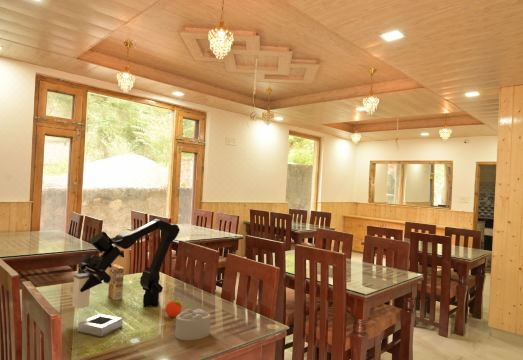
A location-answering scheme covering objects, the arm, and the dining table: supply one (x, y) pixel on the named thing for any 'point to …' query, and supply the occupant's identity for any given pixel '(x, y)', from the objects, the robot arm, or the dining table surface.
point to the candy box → (116, 282)
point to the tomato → (173, 308)
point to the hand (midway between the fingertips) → (78, 290)
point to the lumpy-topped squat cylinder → (192, 324)
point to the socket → (100, 325)
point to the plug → (80, 297)
